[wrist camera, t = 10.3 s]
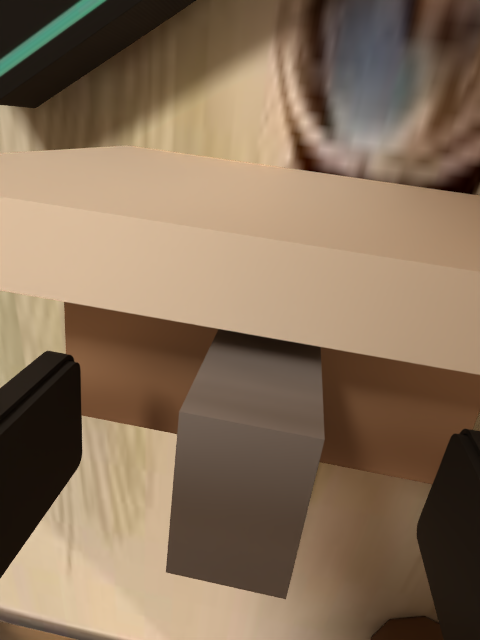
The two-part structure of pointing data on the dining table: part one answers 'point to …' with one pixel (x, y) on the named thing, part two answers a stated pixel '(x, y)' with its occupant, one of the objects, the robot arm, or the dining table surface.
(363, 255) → the wall board
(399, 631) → the beer bottle
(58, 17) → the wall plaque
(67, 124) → the dining table surface
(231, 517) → the walnut cabinet
